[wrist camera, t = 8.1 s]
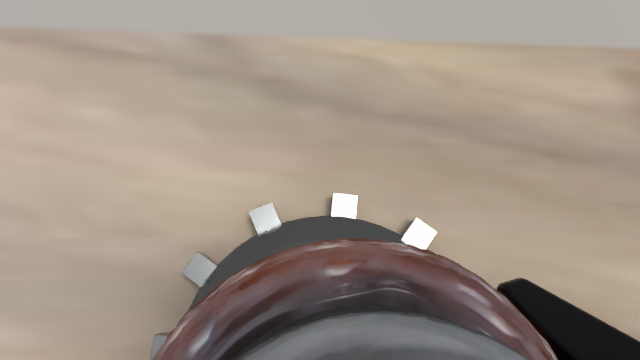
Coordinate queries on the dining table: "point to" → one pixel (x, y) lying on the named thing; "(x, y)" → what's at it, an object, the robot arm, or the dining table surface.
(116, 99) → the dining table surface
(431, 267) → the supplement bottle
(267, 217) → the sprocket plate
